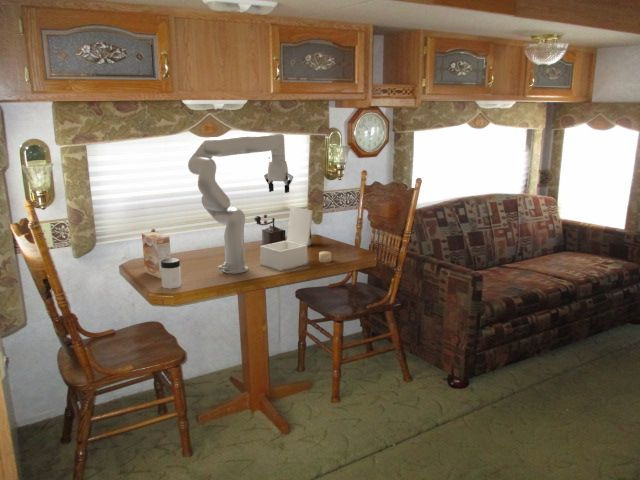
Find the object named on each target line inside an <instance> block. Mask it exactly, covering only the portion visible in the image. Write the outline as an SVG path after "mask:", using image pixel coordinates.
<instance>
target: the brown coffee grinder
mask: <svg viewBox="0 0 640 480" xmlns="http://www.w3.org/2000/svg"><path fill="white" fill-rule="evenodd" d="M253 219H254V221H255V222H256V225H258V226H259V225H260V226H267V225H269V227H267V228H264V229H261V239H262V243H261V244H262V245H261V246H263V245H268V244H272V243H277V242H282V241H286V240H287V237H286V230H285V229H283V228H279V227H277V226H275V220H276V219H275V217H272V220H271V221H269V222H266V223H262V222H261V220H262V217H261V216H259V215H256V216H255V217H254V218H253ZM270 224H272V225H270Z"/></svg>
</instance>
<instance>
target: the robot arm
mask: <svg viewBox="0 0 640 480" xmlns="http://www.w3.org/2000/svg"><path fill="white" fill-rule="evenodd" d="M285 145H286V144H285V136H284V134H283V133H271V134H269V133H268V134H263V133H262V134H261V133H260V134H257V135H256V136H255V135H254V136H249V135H238V136H237V135H236V136H228V137H208V138H207V139H206V138H205V140H204V141H203V142H202V143H200V145H199V146H198V148H197V149H196V150H195V152H194V153H193V154H192V155H191V157H190V158H189V160H188V163H187V168H188V170H189V172H190V173H192V174H194V175H195V176H197V187H198V189H199V192H200V193H201V195H202V196H201V205H202V206H203V208H204V209H205V210H206V212H208V214H209V215H210V216H211V217H212V218H213V219H214V221H216V222H217V223H218V224H220V225H223V226H225V229H224V234H223V240H224V242H223V243H224V262H223V264H222V265H217V266H216V269H217V270H218V271H219V270H222V272H223V273H226V274H229V275H230V274H231V275H232V274H237V275H238V274H243V273H246V272H247V271H249V267H248V266H247V265H246V262H245V261H246V259H245V257H246V256H245V236H244V235H245V234H244V233H245V232H244V231H245V222H246V216H245V215H246V214H245V213H244V211H243V210H242V209H240V208H237V207H234V206H231V199H230V197H229V196H228V195H227V194H226V192H225V191H224V190H223V189H222V188H221V187H220V185H219V184H218V182H217V180H216V173H217V164H216V162H215V160H214V159H212V158H213V157H218V158H219V157H221V158H222V157H228V156H236V155H245V154H254V153H262V152H263V153H265V152H269V156H268V159H269V160H270V161H268V165H267V166H268V167H267V173H266V174H264V175H263V177H264V179H265V182H266V183H267V185H268V192H269V193H272V192H274V182H283V183H284V193H285V194H287V193H290V185H291V183H292V182H293V179H294V176H293V175H292V174H290V173H289V169H288V163H287V161H286V151H285V149H286V148H285Z"/></svg>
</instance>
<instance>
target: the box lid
mask: <svg viewBox="0 0 640 480" xmlns="http://www.w3.org/2000/svg"><path fill="white" fill-rule="evenodd" d="M313 211H314V210H310V209H306V208H299V207H295V206H290V209H289V218H288V226H287V232H286V234H287V235H286V240H287V241H291V242H295V243H299V244H303V245H307V248H308V247H310V246H309V238H310V229H311V230H312V220H313Z"/></svg>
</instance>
